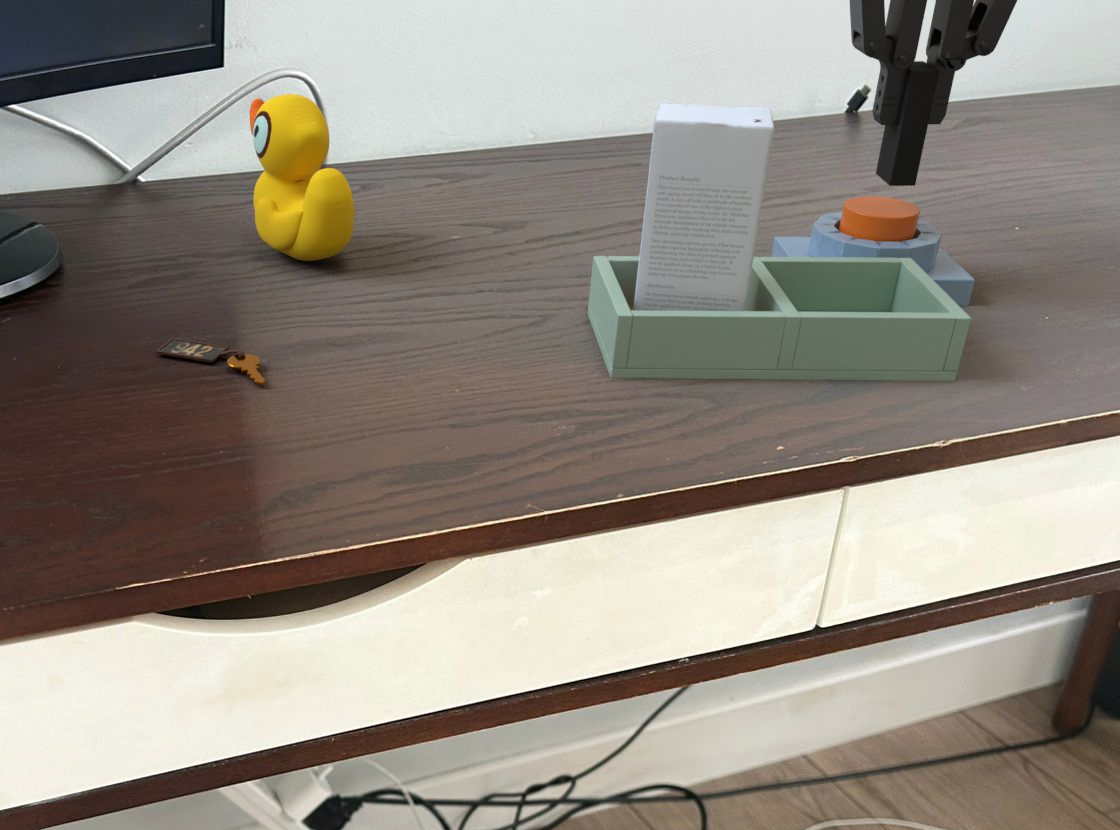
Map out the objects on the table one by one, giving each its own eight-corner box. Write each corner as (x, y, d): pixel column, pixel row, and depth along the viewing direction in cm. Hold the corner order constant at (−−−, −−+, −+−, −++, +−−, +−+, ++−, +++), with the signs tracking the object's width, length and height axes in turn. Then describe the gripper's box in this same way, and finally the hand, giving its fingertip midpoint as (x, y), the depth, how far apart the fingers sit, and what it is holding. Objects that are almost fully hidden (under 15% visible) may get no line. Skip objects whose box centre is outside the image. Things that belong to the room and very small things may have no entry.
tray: (897, 316, 81) (911, 257, 79) (955, 382, 73) (972, 318, 71) (587, 314, 82) (593, 255, 80) (610, 378, 74) (618, 315, 72)
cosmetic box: (739, 322, 78) (775, 106, 72) (739, 350, 75) (777, 126, 68) (631, 313, 80) (658, 100, 73) (626, 340, 76) (654, 119, 70)
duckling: (223, 236, 95) (217, 85, 89) (291, 223, 97) (289, 76, 91) (302, 285, 86) (300, 122, 81) (375, 270, 88) (377, 111, 83)
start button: (900, 223, 86) (906, 196, 85) (923, 246, 82) (930, 217, 82) (829, 223, 86) (835, 195, 85) (850, 246, 83) (856, 217, 82)
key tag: (148, 351, 77) (147, 341, 77) (183, 335, 79) (182, 325, 79) (261, 386, 73) (261, 376, 72) (295, 368, 75) (295, 358, 74)
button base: (923, 262, 89) (936, 209, 87) (968, 306, 83) (983, 250, 81) (769, 261, 90) (779, 208, 88) (801, 305, 83) (812, 249, 81)
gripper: (1087, -289, 73) (981, 161, 85) (839, -283, 73) (770, 164, 86) (1155, -291, 66) (1030, 196, 79) (883, -284, 67) (802, 198, 80)
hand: (895, 179), depth 82 cm, fingers closed
